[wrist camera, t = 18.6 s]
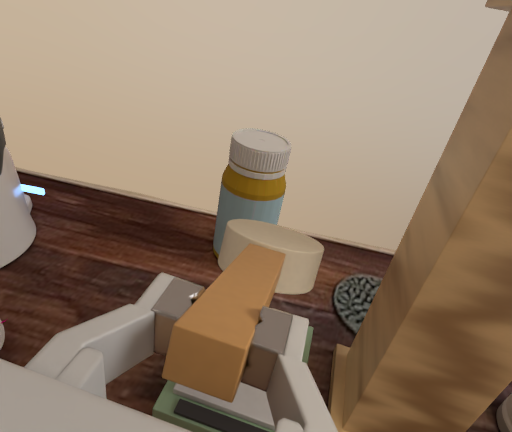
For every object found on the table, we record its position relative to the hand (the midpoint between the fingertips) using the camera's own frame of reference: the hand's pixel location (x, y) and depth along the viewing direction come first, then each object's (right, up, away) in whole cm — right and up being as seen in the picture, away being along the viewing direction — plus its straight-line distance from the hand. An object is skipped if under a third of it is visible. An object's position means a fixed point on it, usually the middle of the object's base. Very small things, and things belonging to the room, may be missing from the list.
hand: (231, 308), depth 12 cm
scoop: (0, -1, +6) cm, 6 cm away
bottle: (-1, -2, +33) cm, 33 cm away
